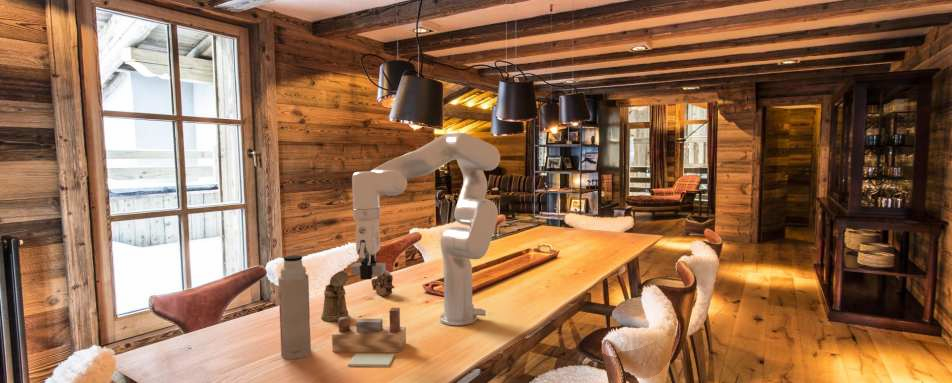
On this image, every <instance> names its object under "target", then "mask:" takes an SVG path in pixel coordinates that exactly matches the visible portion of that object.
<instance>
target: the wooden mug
mask: <svg viewBox="0 0 952 383" xmlns="http://www.w3.org/2000/svg"><path fill="white" fill-rule="evenodd" d="M348 280H349V274H348V273H346V272H344V271H339V272H336V273H334V275H332V276H331V277H330V280H329V284H326V286H325V289H324V292H323V296H324V300H323V306H322V307H323V309H322V313H321V320H322V321H324V322H325V321H326V322H338V318H340V317H349V310H348V308H347V302H346V301H347V300H346V290H345V287H344V285H345V284H346V283H347V281H348Z"/></svg>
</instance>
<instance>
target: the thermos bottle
mask: <svg viewBox="0 0 952 383" xmlns="http://www.w3.org/2000/svg"><path fill="white" fill-rule="evenodd" d="M283 260H284V261H283V267H282V268H280V273H279V274H280V275H279V276H278V279H277V280H278V300H279V301H278V302H279V303H278V304H279V323H280V324H279V327H280V328H279V331H280V352H281V353H280V355H281V357H282V358H284V359H288V360H289V359H290V360H291V359H292V360H293V359H299V358H300V359H301V358H304V357H307V356H308V355H309V354H311V352H312V347H311V346H312V344H311V343H312V341H311V327H310V326H311V324H310V319H311V317H310V312H311V311H310V288H309V286H310V284H309V281H310V280H309V274H308V273H307V269H306V266H304V265H303V261H302V260H303V255H297V254H294V255H287V256H286V255H285V256H284V257H283Z"/></svg>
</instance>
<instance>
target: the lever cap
mask: <svg viewBox="0 0 952 383" xmlns="http://www.w3.org/2000/svg"><path fill="white" fill-rule="evenodd" d="M370 265H372V276H377V275H382V274H383V273H384V272H385V271H387V270H386V262H376V263H370ZM350 275H354V276H360V262H354V263H353V264H352V265H350Z"/></svg>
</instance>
